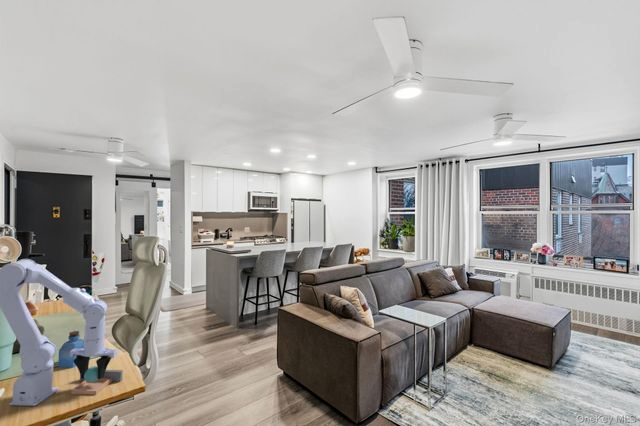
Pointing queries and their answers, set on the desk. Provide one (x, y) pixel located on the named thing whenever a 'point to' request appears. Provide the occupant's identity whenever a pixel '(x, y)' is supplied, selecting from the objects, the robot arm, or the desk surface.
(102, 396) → the desk surface
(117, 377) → the wall
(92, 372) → the ball
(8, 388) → the desk surface
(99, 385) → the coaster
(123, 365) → the desk surface
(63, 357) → the perfume bottle
